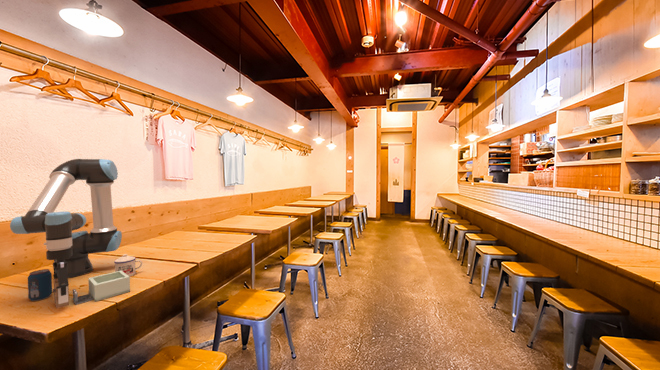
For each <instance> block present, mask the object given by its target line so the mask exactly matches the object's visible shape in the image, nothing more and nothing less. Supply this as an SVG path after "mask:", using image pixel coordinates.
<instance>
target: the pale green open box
mask: <svg viewBox="0 0 660 370" xmlns="http://www.w3.org/2000/svg"><path fill="white" fill-rule="evenodd" d="M87 279H88V280H87V281H88V283H87V284H88V294H91V295H92V297H93V298H94V300H93V301H94V302H98V301H99V302H100V301H103V300H106V299H110V298H113V297H116V296H120V295H123V294H126V293H130V292H131V286H130V285H131V284H130V283H131V280H130V279H131V276H130V277H129V276H128V275H127V274H125V273H124V272H123V271H117V272H115V271H114V272H109V273H104V274H100V275H96V276H91V277H87Z"/></svg>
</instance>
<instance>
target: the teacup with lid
mask: <svg viewBox="0 0 660 370" xmlns="http://www.w3.org/2000/svg"><path fill="white" fill-rule="evenodd" d="M137 262H139V263H140V265H139V266H138V267H136V263H137ZM113 263H114V272H117V271H123V272H124V273H125V274H127V275H128V276H129V277H130V278H131V277H132V276H135V275H136V270H138V269H140V268H142V267H143V266H142V265H143V261H142V260H140V259H136V257H135V256H132V255H128V253H124V254H122V256H120V257H118V258H116V259H115V260H114V261H113Z"/></svg>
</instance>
